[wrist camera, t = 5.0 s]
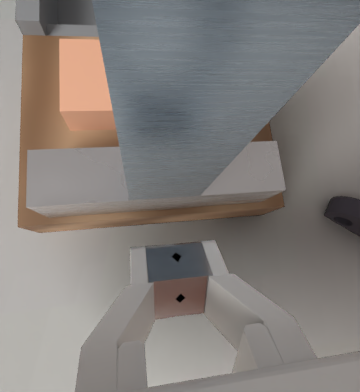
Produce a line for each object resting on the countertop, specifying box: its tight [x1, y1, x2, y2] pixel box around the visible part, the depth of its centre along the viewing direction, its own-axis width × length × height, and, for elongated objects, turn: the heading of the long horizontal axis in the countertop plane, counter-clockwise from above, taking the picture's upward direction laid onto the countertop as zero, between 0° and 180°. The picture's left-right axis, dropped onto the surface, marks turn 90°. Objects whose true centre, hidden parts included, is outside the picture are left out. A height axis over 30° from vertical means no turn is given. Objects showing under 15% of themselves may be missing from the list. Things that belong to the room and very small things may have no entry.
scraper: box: [26, 0, 360, 218], centre depth 8 cm, size 11×2×13 cm, turn 96°
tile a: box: [59, 39, 116, 131], centre depth 15 cm, size 4×4×2 cm
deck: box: [18, 35, 285, 233], centre depth 17 cm, size 14×11×3 cm
